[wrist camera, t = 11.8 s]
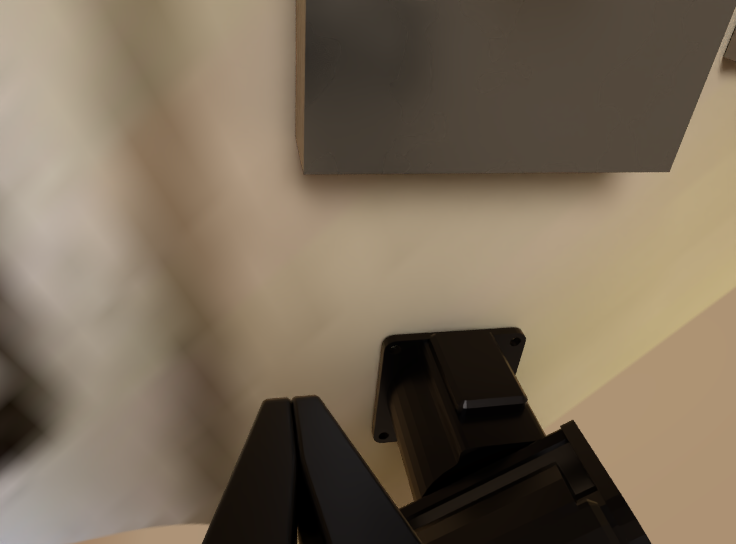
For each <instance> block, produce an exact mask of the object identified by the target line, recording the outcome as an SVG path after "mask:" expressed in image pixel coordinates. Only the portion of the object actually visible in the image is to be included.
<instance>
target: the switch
mask: <svg viewBox="0 0 736 544" xmlns="http://www.w3.org/2000/svg"><path fill="white" fill-rule="evenodd" d="M735 7H736V0H296V102H295V137H296V142H297V146H298V151H299V156H300V161H301V165H302V170H303V174H442V173H593V172H670V169H671V167H672V164H673V162H674V159H675V157H676V154H677V152H678V149H679V147H680V144H681V142H682V139H683V137H684V134H685V132H686V129H687V127H688V124H689V122H690V119H691V117H692V114H693V112H694V109H695V107H696V104H697V102H698V99H699V97H700V94H701V92H702V89H703V87H704V84H705V82H706V79H707V77H708V74H709V72H710V69H711V67H712V64H713V62H714V59H715V57H716V54H717V52H718V49H719V47H720V44H721V42H722V39H723V37H724V34H725V32H726V29H727V27H728V24H729V22H730V19H731V17H732V14H733V12H734V9H735Z"/></svg>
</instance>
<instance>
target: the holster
mask: <svg viewBox="0 0 736 544" xmlns="http://www.w3.org/2000/svg"><path fill="white" fill-rule="evenodd" d="M724 57H725V58H727V59H730V60H733V61H736V28H735V31H734V33H733V36H732V38H731V41H730V43H729V45H728V48H727V50H726V53H725V55H724Z"/></svg>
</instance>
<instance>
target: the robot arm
mask: <svg viewBox="0 0 736 544" xmlns="http://www.w3.org/2000/svg"><path fill="white" fill-rule="evenodd" d="M513 338H515V339H514V340H512V339H513ZM525 342H526V337H525V335H524V334H523V332H522V331H521V329H519V328H498V329H482V330H466V331H450V332H434V333H418V334H402V335H392V336H389V337H387V338H386V339H385V340H384V341H383V344H382V350H381V359H380V367H379V376H378V384H377V393H376V401H375V409H374V418H373V426H372V433H373V437H374V440H375V441H376V442H379V443H386V442H396V441H397V442H398V445H399V449H400V452H401V456H402V460H403V463H404V467H405V470H406V474H407V477H408V481H409V485H410V488H411V492H412V495H413V499H414V502H412V503H410V504H408V505H406V506H404V507H402V508H400V509H398V507H397V506H396V505H395V503H394V502H393V500H392V499H391V498H390V496H389V495H388V493H387V492H386V491H385V489H384V488H383V486H382V485H381V483H380V482H379V481H378V479H377V478H376V476H375V475H374V474H373V472H372V471H371V469H370V468H369V467H368V465H367V464H366V462H365V461H364V459H363V458H362V457H361V455H360V454H359V452H358V451H357V450H356V448H355V447H354V445H353V444H352V443H351V441H350V440H349V438H348V437H347V435H346V434H345V433H344V431H343V430H342V428H341V427H340V426H339V424H338V423H337V421H336V420H335V419H334V417H333V416H332V414H331V413H330V411H329V410H328V409H327V407H326V406H325V404H324V403H323V402H322V400H321V399H320V398H319V397H318V396H316V395H308V396H296V397H294V398H293V399H292V400H290V399H289V398H287V397H284V398H272V399H266V400H264V401H263V403H262V405H261V407H260V409H259V412H258V414H257V416H256V419H255V421H254V423H253V426H252V428H251V430H250V433H249V435H248V437H247V440H246V442H245V444H244V447H243V449H242V451H241V454H240V456H239V458H238V461H237V463H236V465H235V468H234V470H233V472H232V475H231V477H230V479H229V482H228V484H227V486H226V489H225V491H224V493H223V496H222V498H221V500H220V503H219V505H218V507H217V510H216V512H215V514H214V517H213V519H212V521H211V524H210V526H209V528H208V531H207V533H206V535H205V538H204V540H203V542H202V544H297V529H298V539H299V544H651V542H650V540H649V539H648V537H647V535H646V534H645V532H644V530H643V529H642V527H641V525H640V524H639V522H638V520H637V519H636V517H635V516H634V514H633V512H632V511H631V509H630V507H629V506H628V504H627V503H626V501H625V499H624V498H623V497H622V495H621V493H620V492H619V490H618V489H617V487H616V485H615V484H614V483H613V481H612V479H611V478H610V476H609V475H608V473H607V471H606V470H605V468H604V467H603V465H602V464H601V462H600V461H599V459H598V457H597V456H596V455H595V453H594V451H593V450H592V448H591V447H590V445H589V444H588V442H587V440H586V439H585V437H584V436H583V434H582V433H581V431H580V429H579V428H578V426H577V425H576V423H575V422H574V420H571V421H569V422H567V423H566V424H563V425H561V426H560V427H561V429H559V430H557V431H555V432H553V433H551V434H549V435H547V436H546V435H545V433H544V431H543V429H542V427H541V426H540V424H539V422H538V420H537V418H536V417H535V415H534V413H533V411H532V409H531V407H530V406H529V404H528V402H527V400H528V399H527V396H526V394H525V392H524V391H523V389H522V387H521V385H520V383H519V381H518V380H517V378H516V376H515V375H516V372H517V368H518V365H519V362H520V358H521V355H522V352H523V348H524V345H525ZM396 345H397V347H396V348H391V347H393V346H396Z"/></svg>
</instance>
